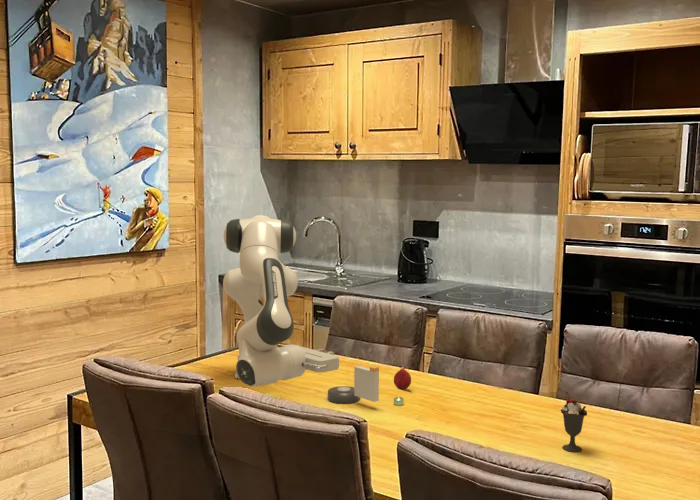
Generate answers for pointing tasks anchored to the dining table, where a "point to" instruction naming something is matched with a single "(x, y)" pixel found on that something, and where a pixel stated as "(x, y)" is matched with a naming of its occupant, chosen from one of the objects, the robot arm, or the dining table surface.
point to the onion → (402, 379)
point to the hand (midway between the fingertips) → (328, 353)
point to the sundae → (573, 422)
